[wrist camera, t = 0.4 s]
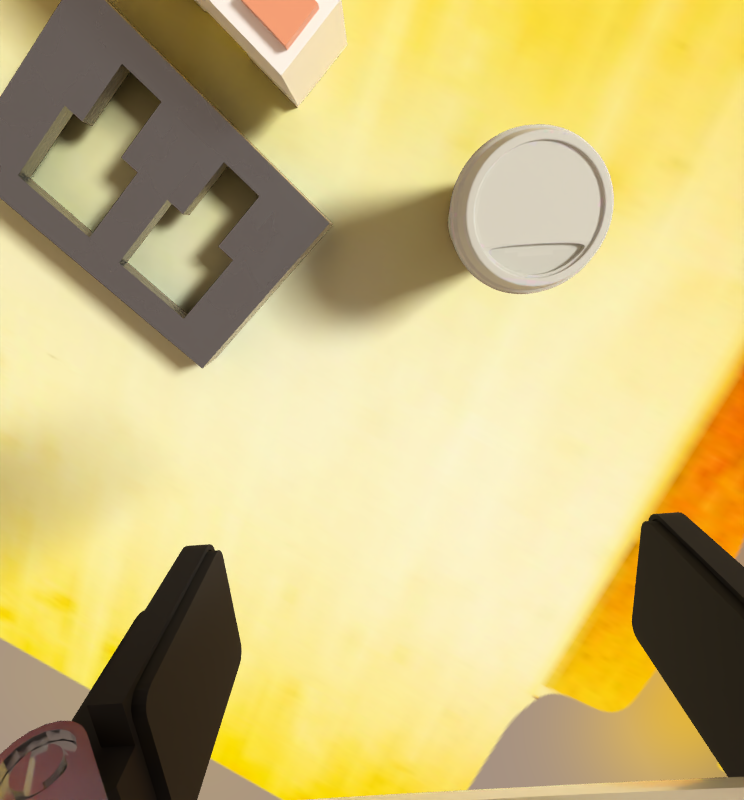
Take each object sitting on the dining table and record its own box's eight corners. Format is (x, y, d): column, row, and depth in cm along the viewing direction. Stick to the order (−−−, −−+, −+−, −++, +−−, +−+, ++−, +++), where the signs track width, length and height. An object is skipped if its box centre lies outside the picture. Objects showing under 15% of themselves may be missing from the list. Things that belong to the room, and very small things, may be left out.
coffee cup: (407, 244, 37) (423, 245, 25) (469, 132, 35) (517, 78, 23) (503, 300, 38) (558, 326, 27) (569, 196, 36) (661, 175, 24)
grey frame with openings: (106, -1, 32) (78, -27, 29) (333, 224, 36) (329, 222, 33) (-6, 169, 35) (-42, 162, 32) (215, 358, 39) (202, 368, 36)
